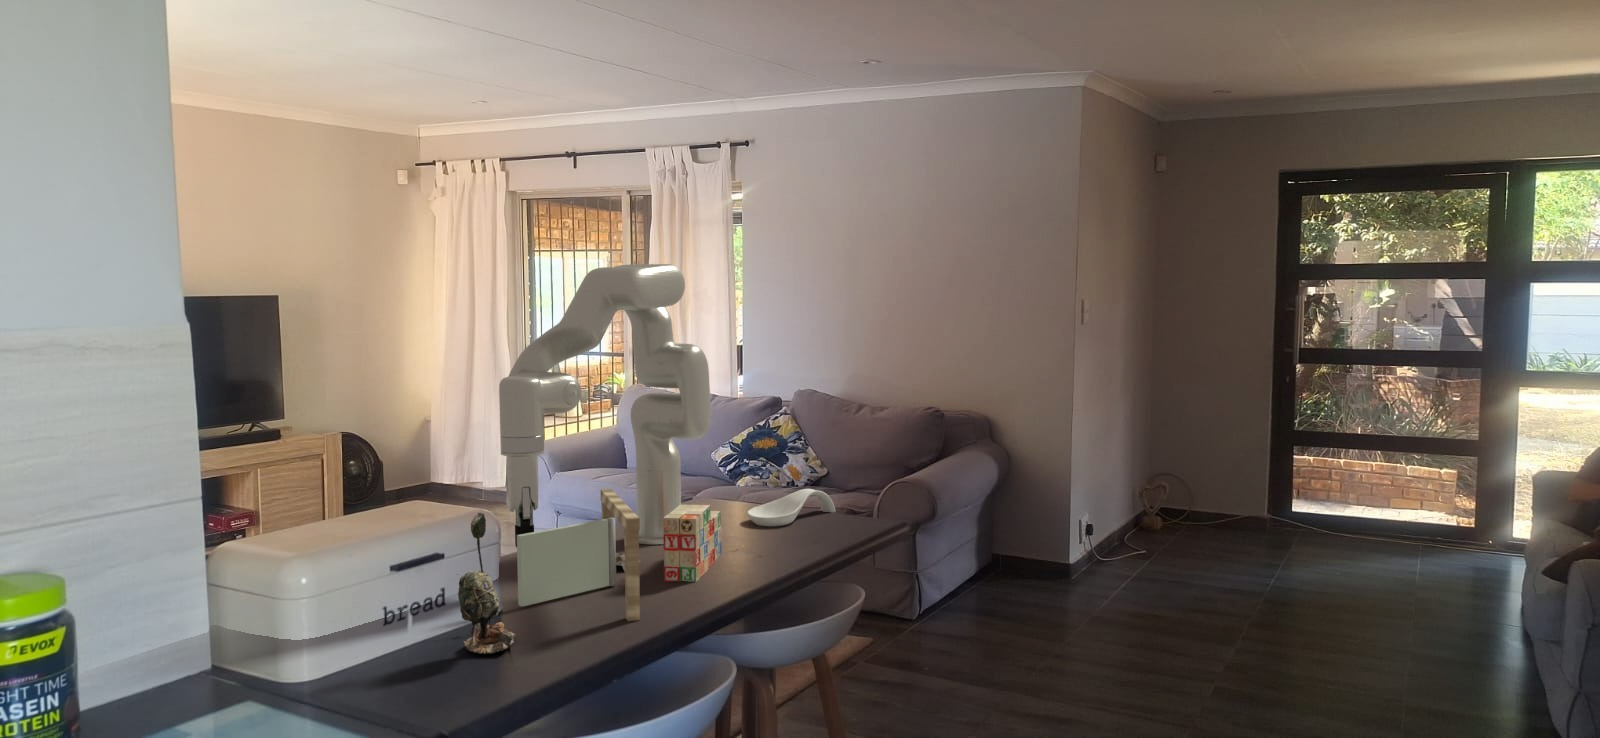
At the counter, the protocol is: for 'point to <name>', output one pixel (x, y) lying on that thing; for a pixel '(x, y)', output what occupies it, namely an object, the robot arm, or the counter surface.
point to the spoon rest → (787, 508)
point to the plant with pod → (482, 604)
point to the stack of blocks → (690, 542)
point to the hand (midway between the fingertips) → (524, 546)
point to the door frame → (626, 548)
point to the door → (566, 560)
